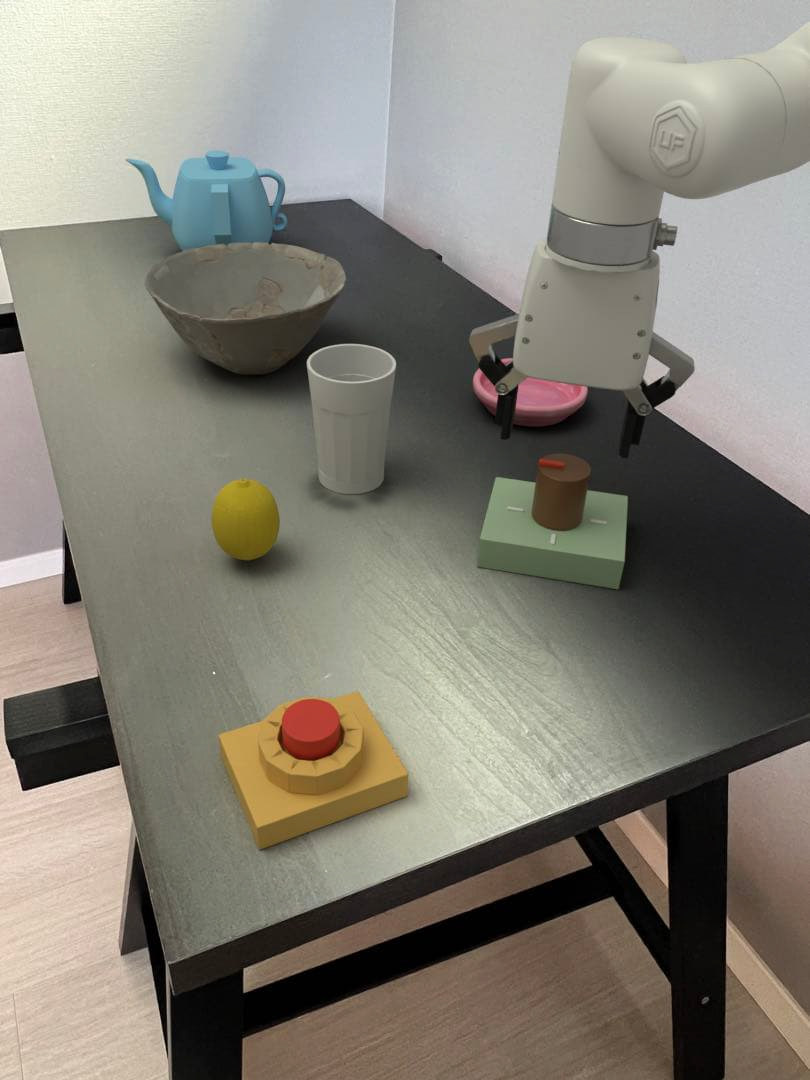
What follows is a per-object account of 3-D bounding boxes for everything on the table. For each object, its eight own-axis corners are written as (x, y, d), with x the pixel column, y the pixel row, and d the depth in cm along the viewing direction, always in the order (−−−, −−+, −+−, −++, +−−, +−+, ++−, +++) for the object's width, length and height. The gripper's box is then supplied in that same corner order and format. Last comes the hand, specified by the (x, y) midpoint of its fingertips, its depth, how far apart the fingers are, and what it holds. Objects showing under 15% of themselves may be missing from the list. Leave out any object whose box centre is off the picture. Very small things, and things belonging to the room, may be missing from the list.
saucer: (548, 374, 111) (551, 349, 109) (605, 424, 102) (610, 397, 100) (452, 390, 107) (454, 364, 105) (503, 443, 98) (506, 416, 96)
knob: (583, 505, 83) (593, 454, 80) (580, 534, 80) (590, 481, 77) (534, 498, 84) (541, 447, 81) (528, 526, 81) (535, 473, 77)
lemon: (292, 567, 80) (288, 488, 75) (230, 586, 77) (222, 506, 73) (266, 533, 83) (261, 455, 79) (206, 550, 81) (197, 471, 76)
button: (327, 711, 62) (326, 692, 61) (348, 749, 59) (348, 730, 58) (274, 727, 60) (273, 708, 59) (294, 768, 58) (293, 748, 57)
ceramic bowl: (138, 402, 102) (125, 315, 96) (173, 316, 120) (164, 238, 114) (344, 405, 103) (344, 319, 97) (347, 320, 121) (347, 243, 116)
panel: (622, 523, 87) (628, 494, 85) (618, 589, 79) (625, 559, 77) (492, 503, 89) (496, 475, 87) (476, 566, 81) (479, 537, 79)
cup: (404, 490, 90) (409, 375, 83) (324, 505, 87) (322, 388, 80) (375, 449, 96) (377, 339, 89) (299, 462, 93) (295, 349, 86)
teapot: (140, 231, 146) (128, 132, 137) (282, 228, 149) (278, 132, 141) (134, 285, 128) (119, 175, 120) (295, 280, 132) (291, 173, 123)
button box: (358, 712, 67) (358, 671, 64) (407, 796, 61) (410, 754, 59) (220, 756, 63) (215, 715, 61) (259, 850, 57) (255, 808, 55)
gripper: (721, 232, 69) (671, 434, 80) (488, 204, 72) (468, 404, 82) (727, 268, 63) (671, 481, 74) (473, 237, 66) (453, 447, 76)
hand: (564, 440), depth 78 cm, fingers open, 9 cm apart
